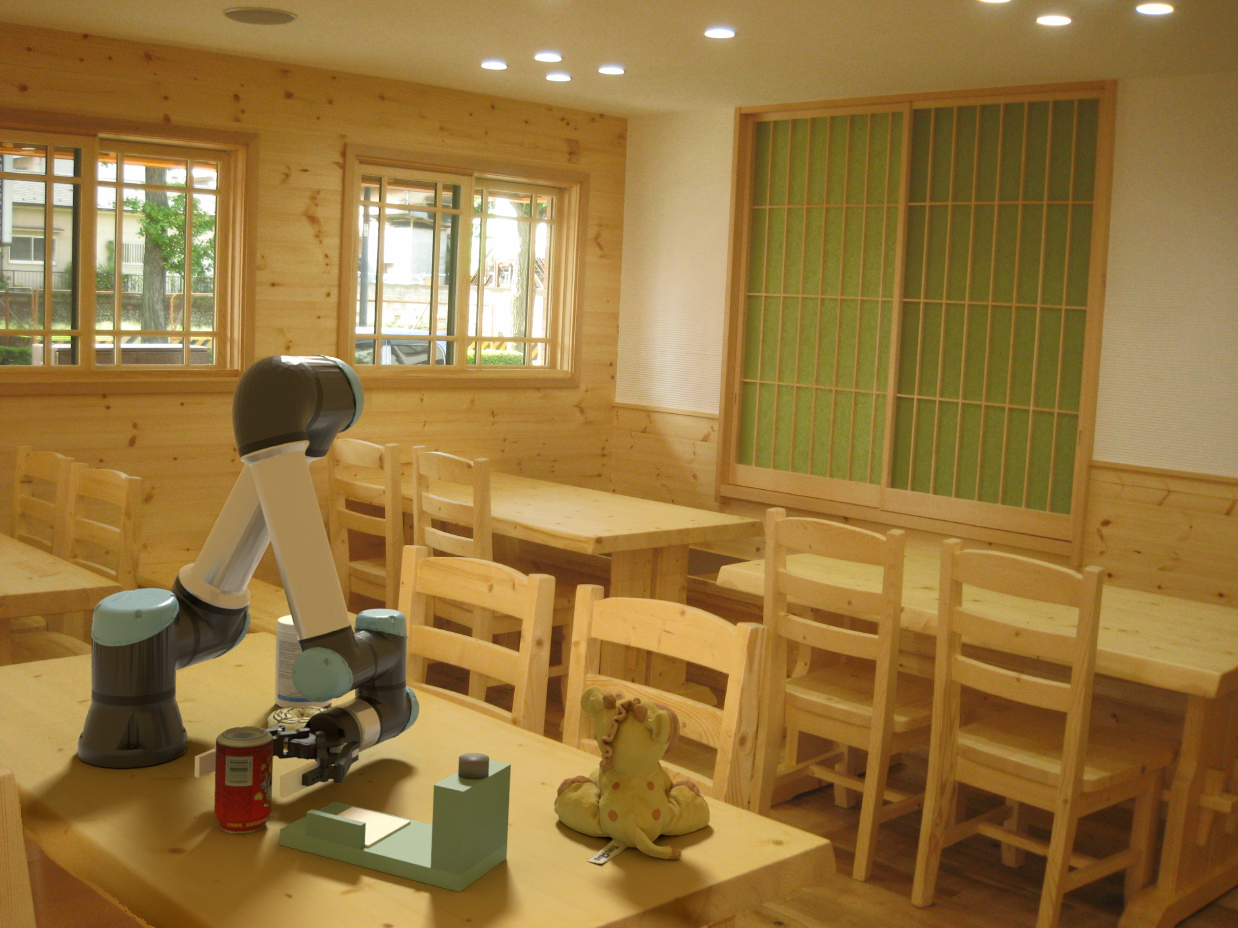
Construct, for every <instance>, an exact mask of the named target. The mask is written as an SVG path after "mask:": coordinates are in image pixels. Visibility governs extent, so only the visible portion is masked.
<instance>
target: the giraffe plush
mask: <svg viewBox="0 0 1238 928" xmlns="http://www.w3.org/2000/svg"><path fill="white" fill-rule="evenodd" d="M579 701H580V702H579V703H580V706H581V709H582V711H583V712H585V714H586V715H588V716H590V717H592V718H594V719H595V722H594V736H595V739H596V742H597V746H598V749H599V751H600V754H601V760H600V762H599V763H598V767H596V768H595V769H593V770H592V771H591V773H590V774H589V775H588V777H587V776H584V775H575V776H574V777H572V778H571V777H569V778H568V777H567V778H565V779H563V780H562V782H561V784H559V786H558V788H557V790H556V791H557V792H556V793H557V796H556V798H555V800H554V808H553V809H554V812H555V814H556V815H558V819H559V821H560V822H561V823H563V824H564V825H565V826H566V827H568V828H569V829H571V830H574V831H576V832H578V833H581V834H583V835H586V836H589V837H596V838H597V837H598V838H603V837H604V838H608V837H609V838H611V839H612V840H611V841H609V843H607V844H606V845H605V846H604V847H602V848H601V849H600V850H599V851H598V852H597V853H595V854H594V855H593V856H592V857H590V858H587V860H586V862H587V863H593V864H598V865H602V864H605V863H607V862H609V861H611V860H612V859H613V858H615V857H616V856H618V855H620V854H621V853H622V852H623V851H625V850H626V849H627V848H637V850H639V851H640V852H642V853H643V854H646V855H648V856H651V857H653V858H657V859H662V860H663V859H664V860H670V861H674V860H678V859H680V858H681V857H682V855H683V854H682V853H683V852H682V849H681V848H680V847H677V846H674V845H663V846H660V845H656V844H654V841H655V840H657V838H659V836H661V835H664V836H682V835H686V834H690V833H693V832H696V831H698V830H701V829H704V828H705V827H707V826H708V824H709V823H710V820H711V818H710V817H711V816H710V815H711V812H710V808H709V805H708V803H707V801H706V799H705V798H704V796H703V795H702V794H701V791H700V788H699V786H698V785H697V784H696V783H695V782H694V781H692V780H681V781H677V782H675V783H674V781H673V780H672V778H671V776H670V775H669V772H668V771H667V769H665V768H664V767H663V765H662V764H661V762H660V760H661V759H662V757H663V756H664V755H665V754H668V753H669V752H672V751H674V749H675V748H676V747H677V744H678V743H679V740H680V739H679V738H680V736H681V735H680V734H681V724H680V721H679V717H678V715H677V713H676V712H675V711H674V710H673V709H672V708H671V707H670V706H668V705H666V704H664V703H659V702H655V701H651V700H650V699H647V698H644V697H636V696H634V697H632V696H631V697H625V698H623V699H619V700H617V698H616V697H615V695H614V694H612V693H609V692H606V693H605V691H604V690H603V689H602V688H601V687H600V686H599V685H592V686H589V687H588V688H587V689H586V690H584V691H583V692H582V695H581V697H580V700H579Z"/></svg>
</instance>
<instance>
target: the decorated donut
mask: <svg viewBox="0 0 1238 928" xmlns="http://www.w3.org/2000/svg"><path fill="white" fill-rule="evenodd" d="M327 709H328V708H326V707H323V708H321V707H317V706H289V707H284V708H282V707H281V708H279V709H277V710H274V711H273V712H271V713H270V715H269V716H268V718H267V719H266V722H267V729H269V728H272V727H275V726H279V725H284V726H285V731H295V730H297V729H299V728H304V726H305V725H306V723H307V722H308V720H309V719H310V718H311V717H312V716H313V715H315V714H317V713H319V712H322V711H324V710H327Z"/></svg>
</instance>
